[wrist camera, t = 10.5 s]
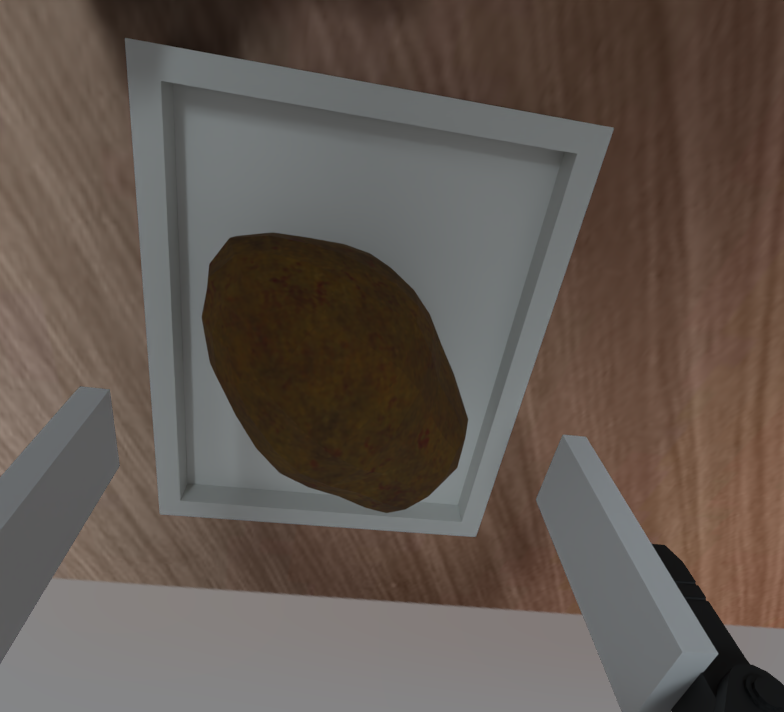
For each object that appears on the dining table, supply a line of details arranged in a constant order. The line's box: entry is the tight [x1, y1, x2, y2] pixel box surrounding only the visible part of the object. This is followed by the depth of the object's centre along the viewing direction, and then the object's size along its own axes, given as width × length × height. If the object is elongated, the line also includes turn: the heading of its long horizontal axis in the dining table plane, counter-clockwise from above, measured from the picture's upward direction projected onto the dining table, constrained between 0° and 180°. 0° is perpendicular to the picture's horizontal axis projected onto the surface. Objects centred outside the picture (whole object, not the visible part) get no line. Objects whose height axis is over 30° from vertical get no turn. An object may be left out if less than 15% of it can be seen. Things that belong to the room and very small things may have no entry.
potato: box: [202, 232, 468, 513], centre depth 19 cm, size 8×12×8 cm, turn 41°
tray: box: [125, 38, 614, 537], centre depth 23 cm, size 20×16×4 cm
